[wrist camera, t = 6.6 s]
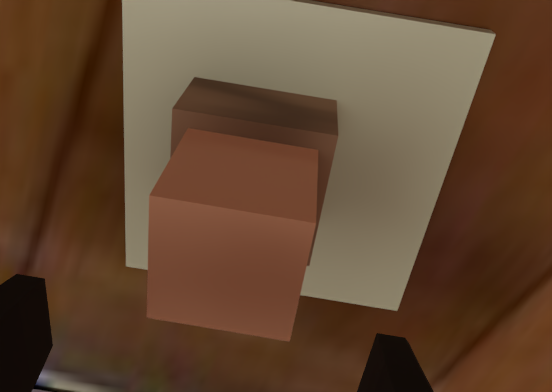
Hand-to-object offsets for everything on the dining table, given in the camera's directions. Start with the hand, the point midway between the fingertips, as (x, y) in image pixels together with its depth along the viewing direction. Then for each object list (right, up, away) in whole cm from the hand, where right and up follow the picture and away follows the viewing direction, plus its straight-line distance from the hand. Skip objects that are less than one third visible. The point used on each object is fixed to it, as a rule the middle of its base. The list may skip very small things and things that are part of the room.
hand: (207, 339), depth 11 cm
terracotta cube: (+1, +3, +5) cm, 6 cm away
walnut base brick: (+1, +5, +8) cm, 9 cm away
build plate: (+2, +4, +9) cm, 10 cm away
